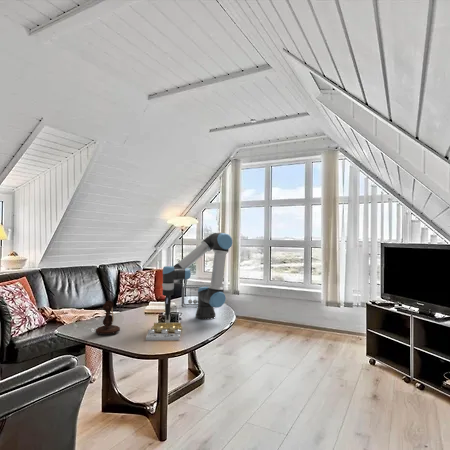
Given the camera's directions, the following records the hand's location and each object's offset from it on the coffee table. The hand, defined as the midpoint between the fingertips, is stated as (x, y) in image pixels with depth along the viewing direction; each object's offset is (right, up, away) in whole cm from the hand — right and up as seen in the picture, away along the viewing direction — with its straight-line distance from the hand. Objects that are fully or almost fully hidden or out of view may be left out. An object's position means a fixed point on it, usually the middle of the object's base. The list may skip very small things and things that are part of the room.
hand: (167, 324), depth 238 cm
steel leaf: (+1, -2, -21) cm, 21 cm away
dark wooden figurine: (-36, -2, -12) cm, 38 cm away
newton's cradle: (+17, -4, +68) cm, 70 cm away
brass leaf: (+1, -2, -7) cm, 7 cm away
